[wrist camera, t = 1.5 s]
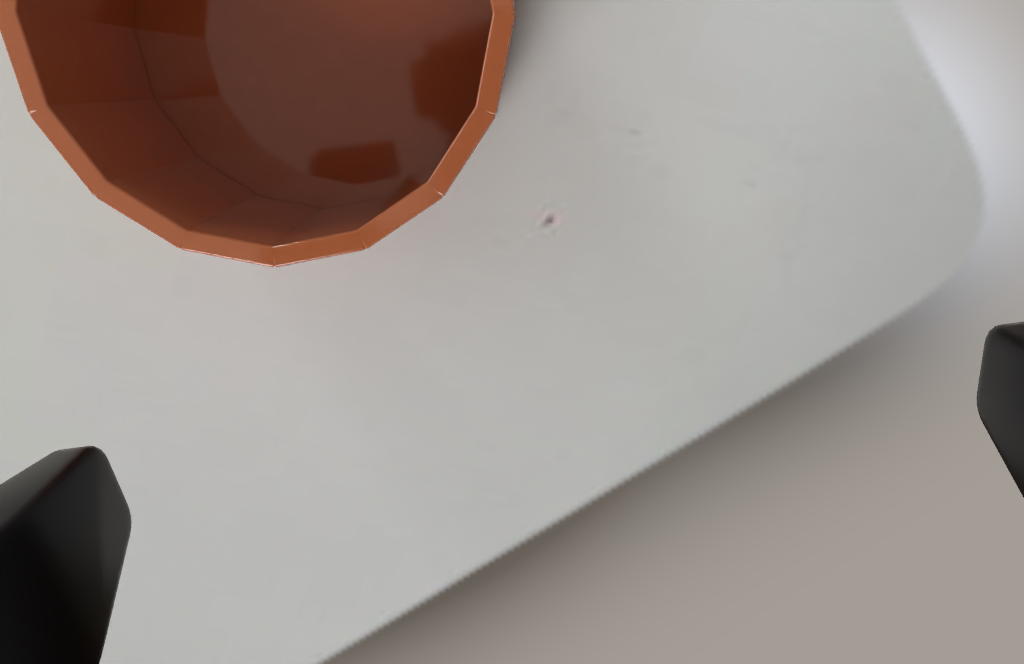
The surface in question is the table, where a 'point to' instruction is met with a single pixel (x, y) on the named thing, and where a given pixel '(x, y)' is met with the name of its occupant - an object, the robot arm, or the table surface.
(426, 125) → the cup
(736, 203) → the table surface
